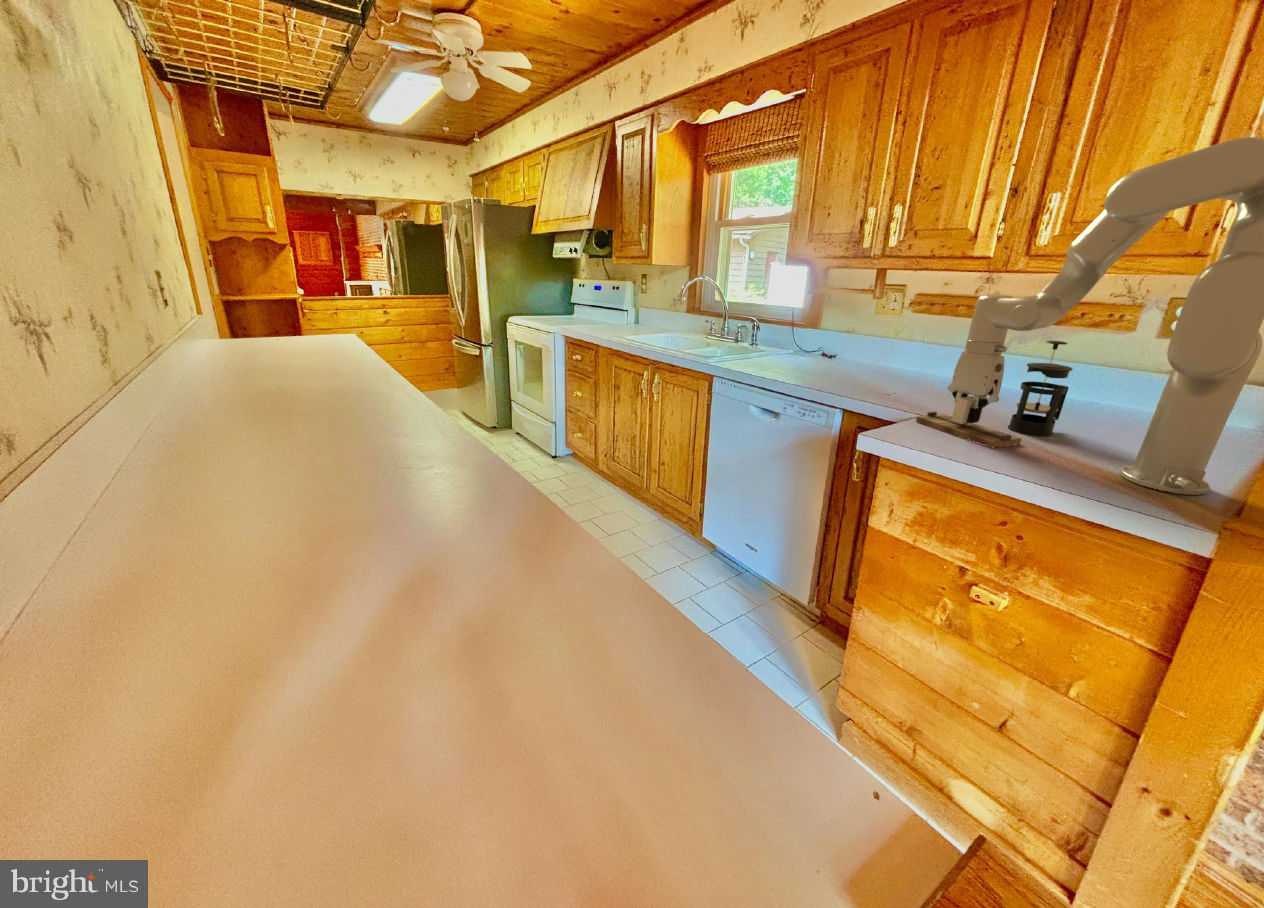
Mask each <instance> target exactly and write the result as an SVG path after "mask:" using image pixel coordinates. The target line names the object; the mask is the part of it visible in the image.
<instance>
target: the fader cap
mask: <svg viewBox="0 0 1264 908" xmlns="http://www.w3.org/2000/svg"><path fill="white" fill-rule="evenodd" d="M974 396H975V395H970V396H968V397H959V398H957V399H956V403H955V402H954V403H955V404H954V408H953V412H952V420H951V421H955V422H958V423H961V424H967V419H968V415H969V411H970V408H972V407H973V402H974ZM983 409H984V408H982V410H981V414H980V418H979V420H978V422H977V423H979V422H980V420H981V417H982V413H983Z"/></svg>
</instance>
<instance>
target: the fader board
mask: <svg viewBox="0 0 1264 908" xmlns="http://www.w3.org/2000/svg"><path fill="white" fill-rule="evenodd" d="M952 416H953V415H952ZM952 416H951V415H947V414H945V413H938V412H937V411H928V412H927V413H926V415H917V416H916V419H915V423H918V424H922V425H923V426H927V427H929V426H930V428H932V429H935V428H936V430H938V429H939V430H938V431H941V432H944V431H945V432H944V433H947V434H949V433H950V435H952V434H954V435H953V436H955V437H958V436H959V438H961V437H963V438H962V439H964V440H966V439H969V440H971V441H970V442H972V441H975V442H979V443H981V444H985V445H988V446H990V447H1000V448H1002V447H1001V446H1005V445H1013V446H1015V445H1014V444H1019V445H1021V442H1022V438H1021V437H1018V436H1015V435H1012V434H1008V433H1004V432H1002V431H999V430H995V429H992V428H989V427H986V426H983V425H980V424H977V423H967V424H961V423H958V422H955V421H951V420H952ZM969 440H968V441H969ZM975 442H974V443H975ZM981 444H980V445H981Z"/></svg>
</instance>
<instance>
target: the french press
mask: <svg viewBox="0 0 1264 908" xmlns="http://www.w3.org/2000/svg"><path fill="white" fill-rule="evenodd" d="M1045 343H1047V344H1050V345H1051V344H1052V347H1051V348H1052V350H1053V351H1052V354H1051V357H1050V360H1049V362H1030V363H1027V364H1026V366H1027V370H1026V373H1030V372H1032V373H1033V372H1037V373H1038V372H1039V373H1041V374H1042V375H1044V376H1045V377H1044V380H1043V382H1042V381H1023V382H1021V384H1020V386H1019V389H1020V390H1022V393H1021V396H1020V400H1019V402H1018V403H1016V408H1017V410H1016V412H1015V413H1013V414H1012V415H1011V419H1010V422H1009V424H1008V426H1007V429H1009V430H1010V431H1011V432H1014V433H1017V434H1019V435H1020V434H1021V435H1025V434H1026V435H1025V436H1031V437H1043V438H1044V437H1051V436H1053V435H1054V432H1053V431H1054V428H1055V425H1056V421H1058V420H1059V418H1060V415H1061V413H1062V410H1063V407H1064V403H1065V401H1066V397H1067V394H1068V390H1069V386H1067V385H1065V384H1056V383H1050V382H1047V378H1048V379H1067V378H1068V377H1069V373H1070V372H1071V371H1073V367H1071V366H1067V365H1063V364H1062V365H1061V364H1057V363H1052V362H1053V359H1054V356H1055V353H1056V350H1058V347H1059V346H1060V345H1061V346H1062V345H1065V346H1066V345H1068V342H1065V341H1063V340H1061V341H1060V340H1047V341H1045ZM1030 393H1032V394H1039V397H1038V399H1037V401H1036V403H1034V402H1028V399H1029V396H1030ZM1042 395H1046V396H1051V398H1050V400H1049V405H1048V404H1042V403H1041V398H1042ZM1025 411H1026V412H1029V413H1025ZM1030 412H1031V413H1035V414H1031V413H1030ZM1036 413H1037V414H1038V415H1037V414H1036ZM1039 414H1042V415H1043V414H1045V416H1042V415H1039Z"/></svg>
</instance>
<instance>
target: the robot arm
mask: <svg viewBox="0 0 1264 908" xmlns="http://www.w3.org/2000/svg"><path fill="white" fill-rule="evenodd" d="M1218 199H1221V200H1227V201H1232V202H1235V204H1236V208H1237V211H1236V215H1235V218H1234V220H1233V222H1232V223H1231V226H1230V228H1229V230H1228V233H1227V236H1226V240H1225V242H1224V244H1223V247H1222V249H1221V252H1220V254H1219V256H1218V259H1217V261H1214V262H1213V263H1210V265H1208V266H1207V267H1206V268H1204V269H1203V270H1202V271H1201V272H1200V273H1199V274H1198V275H1197V277H1196V278H1195V279H1194V281H1193V283H1192V285H1191V286H1190V289H1189V290H1188V293H1187V296H1186V299H1185V301H1184V303H1183V306H1182V308H1181V312H1180V315H1179V318H1178V319H1177V322H1176V325H1175V326H1174V330H1173V333H1172V335H1171V338H1170V340H1169V342H1168V343H1169V344H1168V346H1167V351H1166V352H1167V353H1166V355H1167V356H1166V357H1167V361H1168V363H1169V365H1170V367H1171V368H1172V371H1171V373H1170V374H1169V376H1168V378H1167V381H1166V383H1165V385H1164V388H1163V390H1162V393H1161V395H1160V397H1159V400H1158V403H1157V404H1156V407H1155V409H1154V412H1153V415H1152V417H1151V420H1150V422H1149V425H1148V428H1147V429H1146V430H1147V431H1146V433H1145V435H1144V438H1143V440H1142V441H1141V442H1142V443H1141V444H1140V448H1139V450H1138V452H1137V455H1136V458H1135V461H1134V463H1133V464H1127V465H1123V466H1121V468H1120V472H1119V474H1120V475H1121V477H1123V478H1125V480H1127V481H1130V482H1132V483H1135V484H1136V485H1139V486H1143V487H1145V486H1146V488H1149V487H1150V489H1152V488H1153V489H1152V490H1156V489H1158V490H1157V491H1160V492H1161V491H1162V492H1165V491H1167V493H1171V492H1172V493H1171V494H1177V495H1178V494H1179V495H1186V496H1188V495H1189V496H1191V495H1192V496H1201V495H1205V494H1207V493H1209V490H1210V489H1211V486H1210V484H1209V483H1208V482H1206V481H1205V480H1204V477H1205V476H1206V474H1207V471H1206V468H1207V466H1208V464H1209V461H1210V460H1211V458H1212V455H1213V453H1214V450H1215V448H1216V446H1217V444H1218V442H1219V439H1220V437H1221V435H1222V433H1223V431H1224V428H1225V426H1226V423H1227V422H1228V420H1229V417H1230V415H1231V413H1232V412H1233V410H1234V407H1235V405H1236V403H1237V400H1238V399H1239V397H1240V394H1241V392H1242V391H1243V388H1244V386H1245V384H1246V382H1247V380H1248V379H1249V376H1250V374H1251V372H1252V371H1253V369H1254V367H1255V366H1256V364H1257V361H1258V359H1259V357H1260V355H1261V352H1262V348H1263V338H1262V334H1261V333H1260V332H1259V331H1260V329H1261V327H1262V325H1263V321H1264V138H1261V137H1256V136H1255V137H1253V136H1247V137H1238V138H1233V139H1230V140H1226V141H1223V142H1219V143H1216V144H1213V145H1210V146H1207V147H1205V148H1201V149H1198V150H1195V151H1192V152H1189V153H1185V154H1183V155H1179V156H1177V157H1174V158H1170V159H1167V160H1164V161H1161V162H1159V163H1158V162H1157V163H1154V164H1151V165H1149V166H1146V167H1143V168H1142V167H1141V168H1139V169H1137V170H1134V171H1132V172H1129V173H1128V174H1125V175H1124V176H1122V177H1121V178H1119V180H1117V181H1116V182H1115V183H1114V184H1113V185H1112V186H1111V187H1110V188H1109V190H1108V192H1107V193H1106V196H1105V198H1104V202H1103V205H1104V209H1103V210H1102V212H1101V213H1100V214H1099V215H1097V217H1096V218H1095V219H1094V220H1093V221H1092V222H1091V223H1090V224H1089V225H1087V227H1086V228H1085V229H1084V230H1083V231H1082V232H1081V233H1080V234H1079V235H1078V236H1077V237H1076V238H1075V239H1074V240H1073V241H1072V242H1071V243H1070V245H1069V246H1068V249H1067V250H1066V251H1067V252H1066V255H1065V256H1066V257H1065V261H1064V264H1063V266H1062V267H1061V268H1060V271H1058V273H1057V275H1055V277H1054V278H1053V279H1052V280H1051V281H1050V282H1049V283H1048V284H1047V285H1046V286H1045V287H1044V288H1043V289H1042V290H1040V292H1039V293H1038V294H1037V295H1031V296H1029V295H1028V296H1020V297H1019V296H1017V297H1013V296H1011V295H1007V294H1006V295H1005V294H982V295H981V296H979V297H978V298H977V300H976V303H975V307H974V311H973V314H972V319H971V322H970V327H969V330H968V335H967V340H966V344H965V346H964V347H965V348H964V351H961V354H960V356H959V358H958V360H957V362H956V366H955V369H954V371H953V375H952V378H951V383H950V384H949V385H947V390H948V392H949V393H951V394H952V397H953V398H954V403H956V399H957V398H959V397H968V396H969V395H970V396H974V402H973V407H972V408H970V411H969V415H968V419H967V423H974V424H977V423H979V422H978V420H979V418H980V419H981V417H980V414H981V410H982V408H983V409H984V408H986V406H989V405H990V404H993V403H997V402H999V401H1000V397H999V394H1000V391H1001V388H1002V384H1003V377H1004V372H1005V356H1004V355H1002V353H1006V352H1007V351H1008V346H1005V342H1006V338H1007V333H1008V331H1009V330H1010V331H1016V332H1029V331H1035V330H1040V329H1044V328H1049V327H1051V326H1052V325H1055V324H1056V323H1057V322H1058V321H1060V320H1061V319H1062V318H1063V317H1065V316H1066V315H1067V314H1068V313H1069V312H1071V310H1073V308H1074V307H1075V306H1076V305H1078V304H1079V303H1080V302H1081V301H1082V300H1083V299H1084V298H1085V297H1086V296H1087V295H1088V294H1089V293H1090V292H1091V291H1092V289H1093V288H1094V287H1095V286H1096V285H1097V284H1098V282H1099V281H1101V279H1102V278H1103V277H1104V276H1105V275H1106V273H1107V272H1108V270H1109V269H1110V268H1111V267H1112V266H1113V265H1114V264H1115V263H1116V262H1117V261H1118V260H1120V259H1121V257H1123V255H1125V254H1126V253H1127V252H1128V251H1129V250H1130V249H1131V248H1132V247H1133V246H1134V245H1136V243H1138V242H1139V241H1140V240H1141V239H1142V238H1143V237H1144V236H1145V235H1146V234H1147V233H1148V232H1149V231H1151V229H1153V228H1154V227H1155V226H1156V225H1157V224H1159V222H1160V221H1161V220H1163V218H1165V216H1167V214H1169V213H1170V212H1171V211H1174V210H1179V209H1182V208H1186V207H1190V206H1193V205H1198V204H1201V203H1205V202H1206V203H1207V202H1209V201H1213V200H1218ZM982 411H983V410H982ZM981 415H982V414H981Z"/></svg>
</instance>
